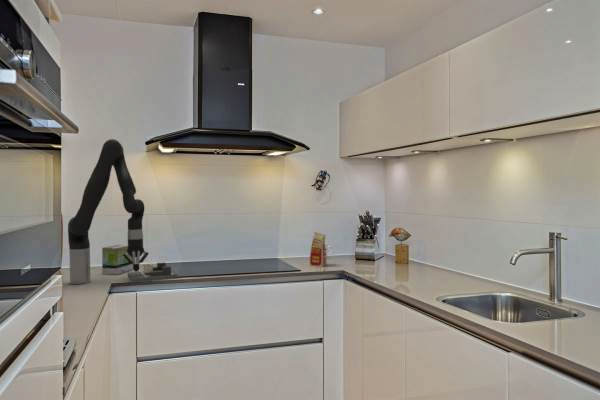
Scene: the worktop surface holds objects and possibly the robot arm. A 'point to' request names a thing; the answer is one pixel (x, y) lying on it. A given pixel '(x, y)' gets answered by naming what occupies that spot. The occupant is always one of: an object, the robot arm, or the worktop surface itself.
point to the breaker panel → (142, 278)
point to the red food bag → (318, 251)
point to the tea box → (115, 260)
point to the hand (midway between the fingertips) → (136, 271)
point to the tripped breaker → (148, 268)
